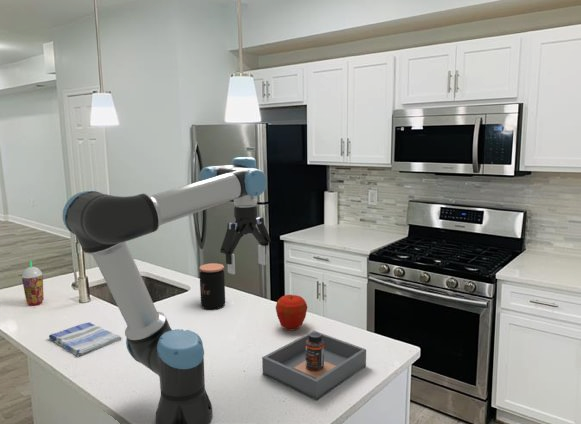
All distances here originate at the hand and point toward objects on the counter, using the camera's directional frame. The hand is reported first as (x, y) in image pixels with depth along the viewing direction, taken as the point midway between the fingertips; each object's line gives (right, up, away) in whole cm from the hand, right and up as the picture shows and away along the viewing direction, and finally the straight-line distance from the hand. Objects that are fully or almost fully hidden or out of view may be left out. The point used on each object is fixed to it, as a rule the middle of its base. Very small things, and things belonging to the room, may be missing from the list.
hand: (247, 268), depth 155 cm
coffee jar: (-20, -23, +52) cm, 60 cm away
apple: (+15, -27, +28) cm, 42 cm away
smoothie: (-101, -23, +56) cm, 118 cm away
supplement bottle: (+22, -32, -3) cm, 39 cm away
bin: (+22, -33, -3) cm, 40 cm away
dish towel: (-62, -30, +20) cm, 72 cm away
